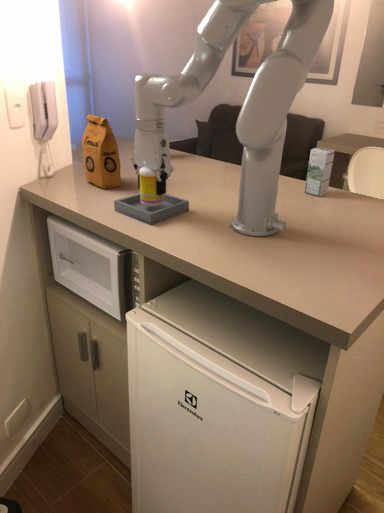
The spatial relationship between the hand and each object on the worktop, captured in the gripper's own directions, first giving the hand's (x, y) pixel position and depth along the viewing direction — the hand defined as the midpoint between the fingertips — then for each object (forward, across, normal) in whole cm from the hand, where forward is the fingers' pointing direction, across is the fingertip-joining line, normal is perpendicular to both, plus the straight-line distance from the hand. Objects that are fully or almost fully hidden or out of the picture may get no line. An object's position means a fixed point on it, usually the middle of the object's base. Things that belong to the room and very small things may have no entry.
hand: (152, 190), depth 117 cm
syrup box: (+6, -26, -50) cm, 57 cm away
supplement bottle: (+4, 0, 0) cm, 4 cm away
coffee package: (+6, +30, -6) cm, 31 cm away
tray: (+6, 0, 0) cm, 6 cm away
